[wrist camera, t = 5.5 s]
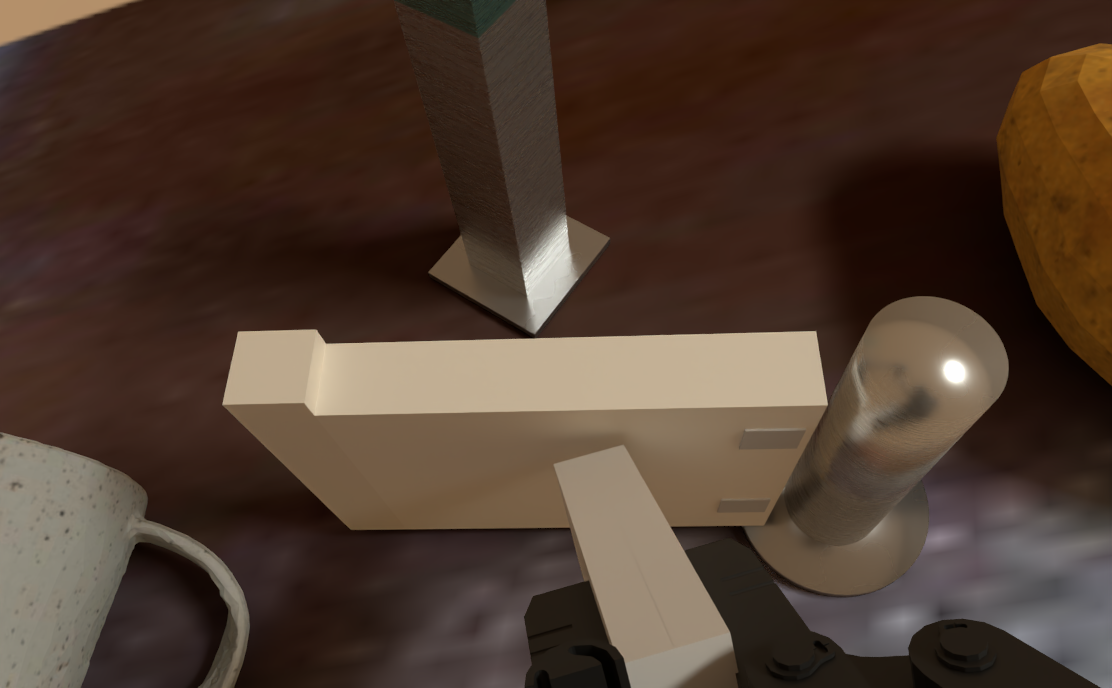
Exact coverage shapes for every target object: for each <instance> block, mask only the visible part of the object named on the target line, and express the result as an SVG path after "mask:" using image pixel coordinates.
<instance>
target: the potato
mask: <svg viewBox="0 0 1112 688" xmlns="http://www.w3.org/2000/svg"><path fill="white" fill-rule="evenodd" d="M996 139H997V148H998V157H999V166H1000V175H1001V187H1002V199H1003V211H1004V217H1005V220H1006V222H1007V225H1008V228H1009V231H1010V234H1011V236H1012V239H1013V242H1014V245H1015V248H1016V251H1017V253H1018V256H1019V259H1020V262H1021V264H1022V267H1023V270H1024V272H1025V275H1026V278H1027V280H1028V283H1029V286H1030V288H1031V291H1032V294H1033V296H1034V299H1035V302H1036V304H1037V306H1038V307H1039V308H1040V310H1041V311H1042V312H1043V314H1044V315H1045V316H1046V318H1047V319H1048V320H1049V322H1050V323H1051V324H1052V325H1053V327H1054V328H1055V329H1056V331H1057V332H1058V333H1059V335H1060V336H1061V337H1062V339H1063V340H1064V341H1065V343H1066V344H1067V345H1068V347H1069V348H1070V349H1071V350H1073V351H1074V352H1075V353H1076V354H1077V355H1078V356H1079V357H1080V358H1081V359H1082V360H1084V361H1085V362H1086V363H1087V364H1088V365H1089V366H1090V367H1091V368H1092V369H1093V370H1095V371H1096V372H1097V373H1098V374H1099V375H1100V376H1101V377H1102V378H1103V379H1104V380H1106V381H1107V382H1108V383H1109V384H1110V385H1111V386H1112V45H1110V44H1096V45H1093V46H1089V47H1085V48H1082V49H1078V50H1075V51H1071V52H1068V53H1064V54H1060V55H1057V56H1053V57H1050V58H1048V59H1046V60H1045V61H1043V62H1041V63H1039V64H1037V65H1035V66H1033V67H1032V68H1030V69H1028V70H1026V71H1024V72H1022V74H1021V76H1020V79H1019V81H1018V83H1017V85H1016V88H1015V90H1014V92H1013V95H1012V97H1011V99H1010V102H1009V104H1008V107H1007V110H1006V113H1005V116H1004V118H1003V121H1002V124H1001V127H1000V130H999V132H998V135H997V138H996Z"/></svg>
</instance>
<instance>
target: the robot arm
mask: <svg viewBox="0 0 1112 688" xmlns="http://www.w3.org/2000/svg"><path fill="white" fill-rule="evenodd" d="M554 468H555V472H556V476H557V480H558V484H559V488H560V491H561V495H562V499H563V503H564V507H565V511H566V514H567V518H568V522H569V526H570V530H571V534H572V537H573V541H574V545H575V549H576V553H577V557H578V560H579V564H580V568H581V572H582V576H583V579H584V582H581V583H578V584H574V585H571V586H567V587H564V588H560V589H557V590H554V591H550V592H547V593H543V594H540V595H536V596H533V598H532V600H531V602H530V605H529V607H528V609H527V612H526V614H525V616H524V619H525V625H526V631H527V637H528V643H529V649H530V655H531V661H532V666H531V667H530V669H529V670H528V672H527V673H526V680H525V688H1100V687H1098V686H1097V685H1095V684H1093V683H1092V682H1090V681H1088V680H1087V679H1085V678H1083V677H1082V676H1080V675H1078V674H1076V673H1075V672H1073V671H1071V670H1070V669H1068V668H1066V667H1065V666H1063V665H1061V664H1060V663H1058V662H1056V661H1054V660H1053V659H1051V658H1049V657H1048V656H1046V655H1044V654H1043V653H1041V652H1039V651H1038V650H1036V649H1034V648H1033V647H1031V646H1029V645H1027V644H1026V643H1024V642H1022V641H1021V640H1019V639H1017V638H1016V637H1014V636H1012V635H1011V634H1009V633H1007V632H1005V631H1004V630H1001V629H999V628H997V627H994V626H992V625H989V624H987V623H985V622H979V621H973V620H967V619H954V620H941V621H938V622H935V623H932V624H929V625H926V626H924V627H923V628H922V629H921V630H919V631H918V632H917V633H916V634H914V635H913V637H912V639H911V642H910V645H909V647H908V650H909V656H890V657H860V656H854V655H849V654H845V652H844V651H843V650H842V648H841V647H839V646H838V645H837V644H836V643H835V642H834V641H832V640H831V639H830V638H828V637H826V636H823V635H820V634H818V633H815V632H812V631H810V630H809V628H808V627H807V626H806V624H805V623H804V622H803V620H802V619H801V617H800V616H799V615H798V613H797V612H796V611H795V609H794V608H793V606H792V605H791V604H790V602H789V601H788V600H787V598H786V597H785V595H784V594H783V593H782V591H781V590H780V589H779V587H778V586H777V584H776V583H775V584H774V581H773V579H772V578H771V576H770V575H769V573H768V572H767V571H766V569H765V570H764V567H763V565H762V564H761V562H760V561H759V560H758V558H757V557H756V556H755V554H754V553H753V551H752V550H751V549H749V548H747V547H745V546H744V545H742V544H740V543H738V542H736V541H734V540H732V539H730V538H727V539H723V540H720V541H716V542H713V543H709V544H706V545H702V546H699V547H696V548H692V549H689V550H685V551H684V550H683V548H682V547H681V545H680V543H679V541H678V539H677V538H676V536H675V534H674V532H673V531H672V529H671V527H670V525H669V524H668V522H667V520H666V518H665V517H664V515H663V513H662V511H661V509H660V508H659V506H658V504H657V502H656V501H655V499H654V497H653V495H652V494H651V492H650V490H649V488H648V487H647V485H646V483H645V481H644V480H643V478H642V476H641V474H640V472H639V471H638V469H637V467H636V465H635V464H634V462H633V460H632V458H631V457H630V455H629V453H628V451H627V450H626V448H625V446H624V445H621V446H617V447H613V448H610V449H606V450H603V451H599V452H595V453H592V454H588V455H584V456H581V457H577V458H574V459H570V460H566V461H563V462H559V463H556V464H554Z"/></svg>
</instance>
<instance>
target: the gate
mask: <svg viewBox="0 0 1112 688" xmlns="http://www.w3.org/2000/svg"><path fill="white" fill-rule="evenodd" d="M222 405H223V406H224V407H225V408H226V409H227V410H228V411H229V412H230V413H231V414H232V415H233V416H234V417H235V418H237V419H238V420H239V421H240V422H241V423H242V424H243V425H244V426H245V427H246V428H247V429H248V430H249V431H250V432H251V433H252V434H253V435H254V436H255V437H256V438H257V439H258V440H259V441H260V442H261V443H262V444H263V445H264V446H265V447H266V448H267V449H268V450H269V451H270V452H271V453H272V454H273V455H274V456H276V457H277V458H278V459H279V460H280V461H281V462H282V463H283V464H284V465H285V466H286V467H287V468H288V469H289V470H290V471H291V472H292V473H293V474H294V475H295V476H296V477H297V478H298V479H299V480H300V481H301V482H302V483H303V484H304V485H305V486H306V487H307V488H308V489H309V490H310V491H311V492H312V493H313V494H315V495H316V496H317V497H318V498H319V499H320V500H321V501H322V502H323V503H324V504H325V505H326V506H327V507H328V508H329V509H330V510H331V511H332V512H333V513H334V514H335V515H336V516H337V517H338V518H339V519H340V520H341V521H342V522H343V523H344V524H345V525H346V526H347V527H348V528H349V529H350V530H396V529H488V528H570V526H569V522H568V518H567V514H566V511H565V507H564V503H563V499H562V495H561V491H560V488H559V484H558V480H557V476H556V472H555V468H554V464H556V463H559V462H563V461H566V460H570V459H574V458H577V457H581V456H584V455H588V454H592V453H595V452H599V451H603V450H606V449H610V448H613V447H617V446H621V445H624V446H625V448H626V450H627V451H628V453H629V455H630V457H631V458H632V460H633V462H634V464H635V465H636V467H637V469H638V471H639V472H640V474H641V476H642V478H643V480H644V481H645V483H646V485H647V487H648V488H649V490H650V492H651V494H652V495H653V497H654V499H655V501H656V502H657V504H658V506H659V508H660V509H661V511H662V513H663V515H664V517H665V518H666V520H667V522H668V524H669V525H670V527H672V526H764V524H765V523H766V521H767V519H768V517H769V515H770V513H771V511H772V509H773V508H774V506H775V504H776V502H777V500H778V498H779V496H780V494H781V492H782V491H783V489H784V487H785V485H786V483H787V481H788V479H789V477H790V476H791V474H792V472H793V470H794V468H795V466H796V464H797V462H798V461H799V459H800V457H801V455H802V453H803V451H804V449H805V447H806V445H807V444H808V442H809V440H810V438H811V436H812V434H813V432H814V430H815V429H816V427H817V425H818V423H819V421H820V419H821V417H822V415H823V413H824V412H825V410H826V408H827V406H828V403H827V397H826V391H825V384H824V378H823V372H822V366H821V360H820V353H819V347H818V341H817V335H816V331H809V332H770V333H731V334H692V335H654V336H615V337H576V338H537V339H499V340H460V341H421V342H382V343H343V344H326V343H325V342H324V340H323V339H322V337H321V336H320V334H319V333H318V331H317V330H284V331H247V332H238V335H237V340H236V345H235V349H234V354H233V358H232V363H231V367H230V372H229V377H228V381H227V386H226V390H225V395H224V399H223V404H222Z"/></svg>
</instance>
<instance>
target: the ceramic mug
mask: <svg viewBox="0 0 1112 688" xmlns="http://www.w3.org/2000/svg"><path fill="white" fill-rule="evenodd" d="M147 504H148V497H147V493H146V491H145V490H144V489H143V488H142V487H141V486H140V485H139V484H138V483H137V482H135V481H134V480H133V479H131V478H130V477H129V476H128V475H126V474H125V473H122V472H120V471H118V470H116V469H114V468H111V467H109V466H106V465H104V464H102V463H101V462H99V461H97V460H94V459H91V458H88V457H85V456H82V455H79V454H76V453H72V452H69V451H66V450H63V449H61V448H58V447H54V446H49V445H45V444H42V443H39V442H37V441H33V440H29V439H25V438H21V437H16V436H13V435H9V434H5V433H0V688H81V686H82V683H83V681H84V678H85V676H86V673H87V670H88V667H89V664H90V663H89V661H90V658H91V656H92V654H93V651H94V648H95V645H96V642H97V640H98V638H99V637H100V632H101V630H102V628H103V625H104V623H105V620H106V617H107V614H108V612H109V610H110V608H111V605H112V603H113V600H114V597H115V594H116V592H117V590H118V587H119V585H120V582H121V580H122V576H123V575H124V574H125V572H126V568H127V564H128V561H129V558H130V556H131V553H132V550H133V549H134V546H135V544H137V543H138V542H149V543H152V544H155V545H158V546H161V547H164V548H166V549H168V550H171V551H173V552H176V553H178V554H180V555H182V556H183V557H185V558H187V559H189V560H191V561H192V562H194V563H195V564H197V565H198V566H200V567H201V568H202V569H204V570H205V571H206V572H207V573H209V575H210V577H211V579H212V580H213V581H214V583H215V584H216V586H217V587H218V588H219V590H220V596H221V597H222V598H223V600H224V601H225V603H226V605H227V607H228V619H227V624H226V628H225V631H224V634H223V637H222V640H221V643H220V646H219V649H218V651H217V654H216V656H215V659H214V661H213V664H212V666H211V669H210V671H209V673H208V674H207V676H206V678H205V680H204V682H203V684H202V685H200V686H199V687H198V688H234V686H235V683H236V681H237V678H238V676H239V673H240V670H241V667H242V665H243V661H244V657H245V653H246V649H247V642H248V636H249V629H250V622H249V612H248V608H247V604H246V600H245V597H244V593H243V591H242V589H241V588H240V586H239V584H238V582H237V581H236V579H235V577H234V576H233V574H232V572H231V571H230V570H229V569H228V567H227V566H226V565H225V564H224V562H223V561H222V560H221V559H219V558H218V557H217V556H216V555H215V554H214V553H213V552H212V551H210V550H209V549H208V548H207V547H205V546H204V545H203V544H201V543H199V542H198V541H196V540H194V539H193V538H191V537H189V536H188V535H186V534H183V533H181V532H178V531H176V530H173V529H171V528H169V527H166V526H164V525H162V524H158V523H155V522H152V521H148V520H146V519H144V516H145V512H146V508H147Z"/></svg>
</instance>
